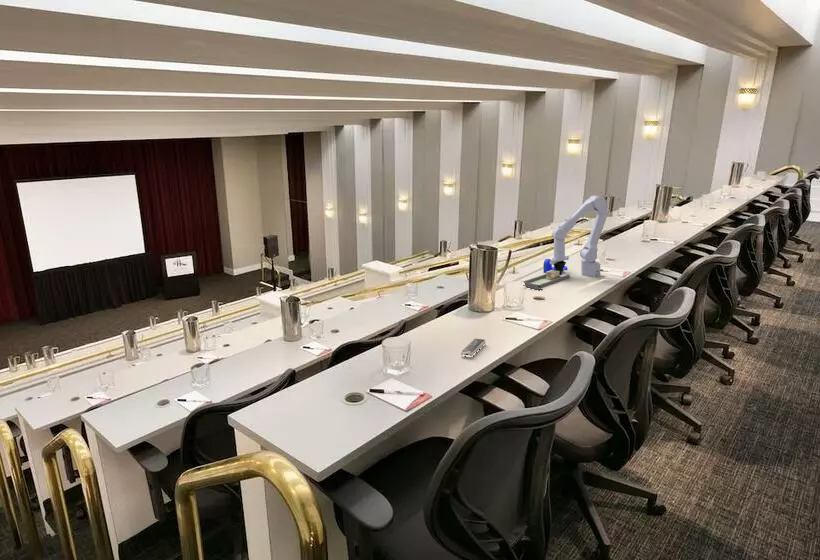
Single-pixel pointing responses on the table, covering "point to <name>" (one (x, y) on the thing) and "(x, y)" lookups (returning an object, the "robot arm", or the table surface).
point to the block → (552, 274)
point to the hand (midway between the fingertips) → (559, 274)
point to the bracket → (550, 266)
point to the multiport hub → (473, 347)
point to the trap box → (542, 281)
